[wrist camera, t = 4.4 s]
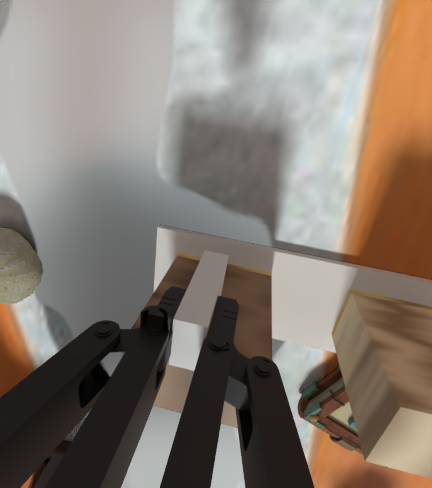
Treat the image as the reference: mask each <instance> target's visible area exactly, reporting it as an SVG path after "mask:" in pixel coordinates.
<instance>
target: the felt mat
mask: <svg viewBox="0 0 432 488" xmlns="http://www.w3.org/2000/svg"><path fill="white" fill-rule="evenodd" d="M205 250H206V251H211V252H215V253H220V254H225V255H229V256H228V261H227V264H232V265H237V266H241V267H246V268H251V269H256V270H260V271H265V272H270V273H272V338H274V339H278V340H282V341H287V342H291V343H295V344H300V345H304V346H308V347H313V348H317V349H321V350H326V351H330V352H334V353H336V350H335V346H334V342H333V339H332V335H331V333H332V331H333V328H334V326H335V324H336V321H337V319H338V317H339V314H340V312H341V310H342V307H343V305H344V302H345V300H346V298H347V295H348V293H349V291H350V290H355V291H360V292H364V293H369V294H374V295H379V296H383V297H388V298H393V299H397V300H402V301H407V302H412V303H416V304H421V305H426V306H431V307H432V280H430V279H425V278H420V277H415V276H410V275H405V274H400V273H396V272H391V271H386V270H381V269H376V268H371V267H366V266H361V265H356V264H351V263H346V262H342V261H337V260H332V259H327V258H322V257H317V256H312V255H307V254H302V253H297V252H292V251H288V250H283V249H278V248H273V247H267V246H263V245H258V244H253V243H248V242H243V241H238V240H233V239H229V238H224V237H218V236H214V235H209V234H204V233H199V232H194V231H189V230H184V229H179V228H175V227H170V226H165V225H159V227H158V229H157V247H156V262H155V279H154V292H155V290H156V289H157V287H158V285H159V284H160V282H161V281H162V279H163V277H164V276H165V274H166V273H167V271H168V270H169V268H170V266H171V265H172V263H173V262H174V260H175V258H176V257H177V255H178V254H179V253H180V254H185V255H189V256H194V257H199V258H202V256H203V253H204V251H205Z"/></svg>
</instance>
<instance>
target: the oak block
mask: <svg viewBox="0 0 432 488" xmlns="http://www.w3.org/2000/svg"><path fill="white" fill-rule="evenodd" d="M331 335H332V339H333V342H334V346H335V350H336V354H337V357H338V361H339V365H340V369H341V373H342V376H343V380H344V384H345V388H346V391H347V395H348V399H349V403H350V407H351V410H352V414H353V418H354V422H355V425H356V429H357V433H358V437H359V441H360V444H361V448H362V452H363V456H364V460H365V461H366V462H370V463H374V464H378V465H382V466H385V467H389V468H393V469H397V470H401V471H405V472H408V473H412V474H416V475H420V476H424V477H428V478H431V479H432V307H431V306H426V305H421V304H416V303H412V302H407V301H402V300H397V299H393V298H388V297H383V296H379V295H374V294H369V293H364V292H360V291H355V290H350V291H349V293H348V295H347V298H346V300H345V302H344V305H343V307H342V310H341V312H340V314H339V317H338V319H337V321H336V324H335V326H334V328H333V331H332V333H331Z"/></svg>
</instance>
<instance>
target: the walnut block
mask: <svg viewBox="0 0 432 488" xmlns="http://www.w3.org/2000/svg"><path fill="white" fill-rule="evenodd" d="M200 260H201V258H199V257H194V256H189V255H185V254H180V253H179V254H178V255H177V257H176V258H175V260H174V262H173V263H172V265H171V266H170V268H169V270H168V271H167V273H166V274H165V276H164V277H163V279H162V281H161V282H160V284H159V285H158V287H157V289H156V290H155V292H154V293H153V295H152V297H151V298H150V300H149V301H148V303H147V305H146V306H145V308H146V307H148V306H154V305H156V306H157V305H158V303H159V302H160V300H161V298H162V296H163V295H164V293H165V291H166V290H168V289H169V288H170V287H172V286H174V287H179V288H183V289H187V288H188V286H189V284H190V282H191V279H192V277H193V275H194V273H195V271H196V269H197V266H198V264H199V262H200ZM221 296H222V297H227V298H231V299H236V300H237V303H238V305H239V310H238V317H237V323H236V329H235V335H234V345H235V348H236V349H237V350H238V351H239V352H240V353H241V354H242V355H244V356H245V357H247V358H249V359H250V358H252V357H254V356H263V357H266V358H268V359H270V360H272V273H270V272H265V271H260V270H256V269H251V268H246V267H241V266H237V265H232V264H227V267H226V272H225V277H224V283H223V288H222V293H221ZM140 318H141V314H140V316H139V317H138V319H137V320H136V322H135V324H134V325H133V327H132V328H131V329H136V328H140ZM193 374H194V371H193V370H189V369H185V368H180V367H176V366H172V365H169V360H168V363H167V365H166V372H165V376H164V379H163V381H162V384H161V386H160V389H159V391H158V394H157V396H156V399H155V402H154V404H153V406H156V407H160V408H164V409H168V410H171V411H176V412H179V413H182V411H183V407H184V404H185V401H186V397H187V394H188V391H189V387H190V384H191V380H192V377H193ZM221 424H225V425H229V426H233V427H236V428H238V425H237V418H236V408H235V407H234V406H232V405H230V404H229V403H227V402H226V401H224V406H223V412H222V419H221Z"/></svg>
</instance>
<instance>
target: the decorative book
mask: <svg viewBox="0 0 432 488" xmlns="http://www.w3.org/2000/svg"><path fill="white" fill-rule="evenodd" d="M298 413H299V415H300V417H301V418H303V419H304V420H306V421H308V422H309V423H311V424H313V425H314V426H316V427H318V428H319V429H321V430H323V431H324V432H326V433H328V434H329V435H330V438H331V440H332V441H334V442H336V443H337V444H339V445H340V446H342V447H344V448H345V449H348V450H351V451H353V450H356V451H357V452H359V453H361V454H362V455H363V452H362V448H361V444H360V441H359V437H358V433H357V429H356V425H355V422H354V418H353V414H352V410H351V407H350V403H349V399H348V395H347V391H346V388H345V384H344V380H343V376H342V373H341V369H340V365H339V364H338V368H336V369H335V370H334V371H333V372H331V373H330V374H329V375H327V376H326V377H325V378H323V379H322V380H321V381H319V382H318V383H316V382H314V383H313V384H312V385H310V386H309V387H308V388H306V389H305V390H304V391H303V392H302V396H301V398H300V400H299V403H298Z"/></svg>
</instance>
